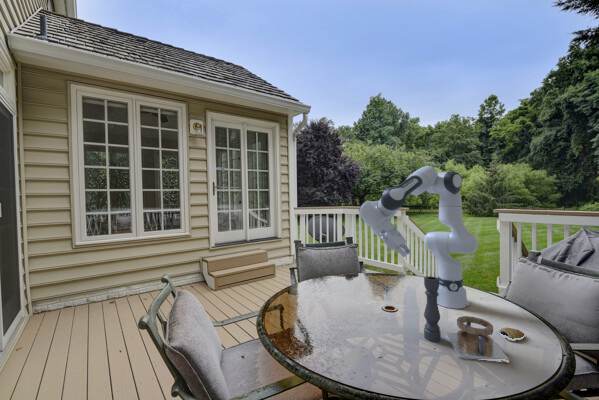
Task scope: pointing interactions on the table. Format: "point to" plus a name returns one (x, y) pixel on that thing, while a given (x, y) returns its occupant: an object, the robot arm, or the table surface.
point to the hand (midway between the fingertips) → (407, 254)
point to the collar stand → (474, 340)
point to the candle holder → (432, 310)
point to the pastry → (511, 332)
